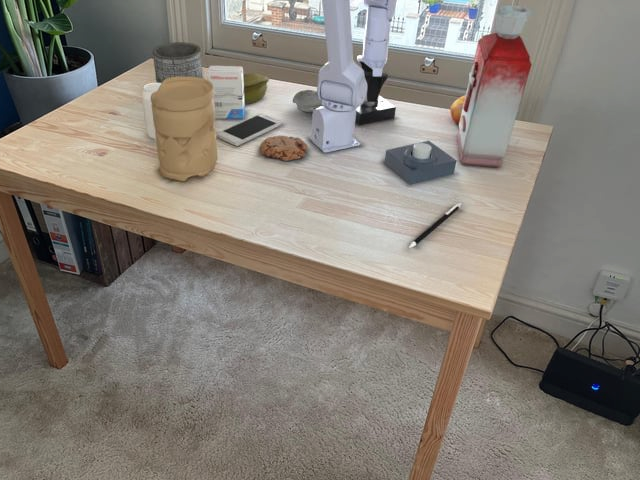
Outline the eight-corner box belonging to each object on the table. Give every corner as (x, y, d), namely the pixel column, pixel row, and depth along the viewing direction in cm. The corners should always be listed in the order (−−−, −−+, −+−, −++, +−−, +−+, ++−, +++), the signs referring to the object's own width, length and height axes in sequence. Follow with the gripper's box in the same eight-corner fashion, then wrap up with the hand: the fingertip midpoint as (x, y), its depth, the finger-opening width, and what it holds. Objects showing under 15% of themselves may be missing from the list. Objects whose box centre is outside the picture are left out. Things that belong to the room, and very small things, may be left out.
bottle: (505, 170, 123) (550, 21, 103) (455, 166, 125) (490, 19, 105) (497, 139, 134) (537, 0, 114) (452, 136, 135) (483, -3, 116)
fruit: (495, 125, 136) (485, 97, 132) (462, 141, 139) (451, 114, 135) (485, 111, 142) (475, 83, 138) (454, 126, 145) (443, 100, 141)
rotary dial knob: (379, 106, 141) (381, 91, 139) (361, 106, 141) (362, 91, 139) (376, 99, 144) (378, 84, 142) (359, 99, 145) (361, 84, 142)
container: (156, 184, 120) (144, 100, 108) (164, 155, 130) (154, 76, 118) (216, 183, 120) (211, 100, 108) (219, 155, 130) (215, 75, 118)
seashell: (283, 111, 147) (283, 92, 144) (300, 100, 152) (301, 82, 149) (323, 123, 141) (324, 103, 138) (339, 111, 147) (341, 92, 143)
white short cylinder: (418, 161, 117) (420, 152, 116) (408, 153, 119) (410, 144, 118) (433, 158, 118) (435, 149, 117) (423, 150, 120) (424, 141, 119)
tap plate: (359, 125, 140) (360, 113, 138) (341, 111, 147) (342, 99, 145) (394, 118, 143) (396, 106, 141) (375, 104, 149) (377, 93, 147)
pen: (462, 206, 112) (463, 201, 111) (410, 250, 102) (411, 245, 101) (458, 205, 113) (459, 200, 112) (406, 248, 102) (407, 243, 101)
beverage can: (166, 128, 140) (160, 79, 133) (178, 137, 136) (172, 87, 129) (143, 134, 138) (135, 85, 130) (154, 144, 134) (147, 94, 126)
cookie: (258, 143, 134) (258, 131, 132) (303, 141, 134) (304, 129, 132) (261, 164, 126) (261, 152, 124) (309, 162, 127) (310, 149, 125)
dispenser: (411, 186, 118) (415, 164, 115) (383, 163, 126) (387, 142, 123) (455, 175, 121) (461, 154, 118) (426, 153, 129) (430, 132, 126)
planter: (213, 95, 155) (210, 46, 147) (185, 111, 148) (180, 61, 139) (177, 86, 160) (172, 39, 152) (149, 102, 153) (142, 52, 144)
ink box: (245, 111, 147) (244, 65, 140) (243, 119, 143) (241, 72, 136) (212, 110, 148) (209, 64, 140) (209, 118, 144) (205, 71, 137)
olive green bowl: (268, 108, 149) (268, 82, 144) (222, 107, 149) (220, 82, 145) (269, 90, 157) (269, 66, 153) (225, 90, 158) (224, 66, 153)
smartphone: (215, 136, 136) (215, 133, 136) (260, 116, 145) (260, 112, 144) (237, 146, 132) (236, 142, 132) (281, 124, 141) (281, 121, 140)
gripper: (356, 27, 138) (351, 83, 147) (362, 48, 127) (356, 107, 136) (386, 27, 138) (378, 83, 147) (394, 48, 127) (386, 107, 136)
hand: (370, 95), depth 141 cm, fingers open, 7 cm apart
